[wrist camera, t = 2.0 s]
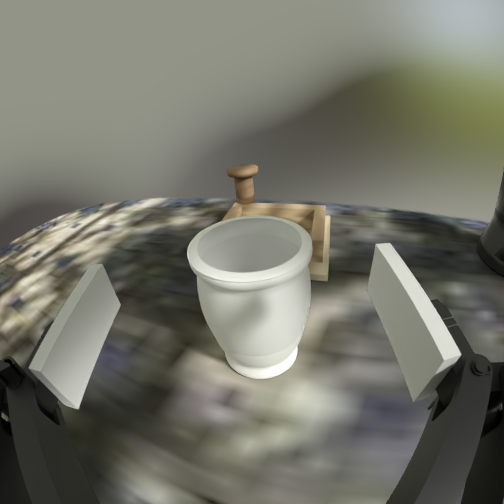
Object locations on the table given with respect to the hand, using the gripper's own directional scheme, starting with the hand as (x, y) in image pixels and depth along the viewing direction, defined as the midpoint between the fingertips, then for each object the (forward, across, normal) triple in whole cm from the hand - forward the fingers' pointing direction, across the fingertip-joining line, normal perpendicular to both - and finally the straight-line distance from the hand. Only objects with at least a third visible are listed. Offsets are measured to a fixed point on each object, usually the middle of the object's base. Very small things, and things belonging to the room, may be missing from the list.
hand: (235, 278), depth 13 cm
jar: (+10, 0, -19) cm, 22 cm away
